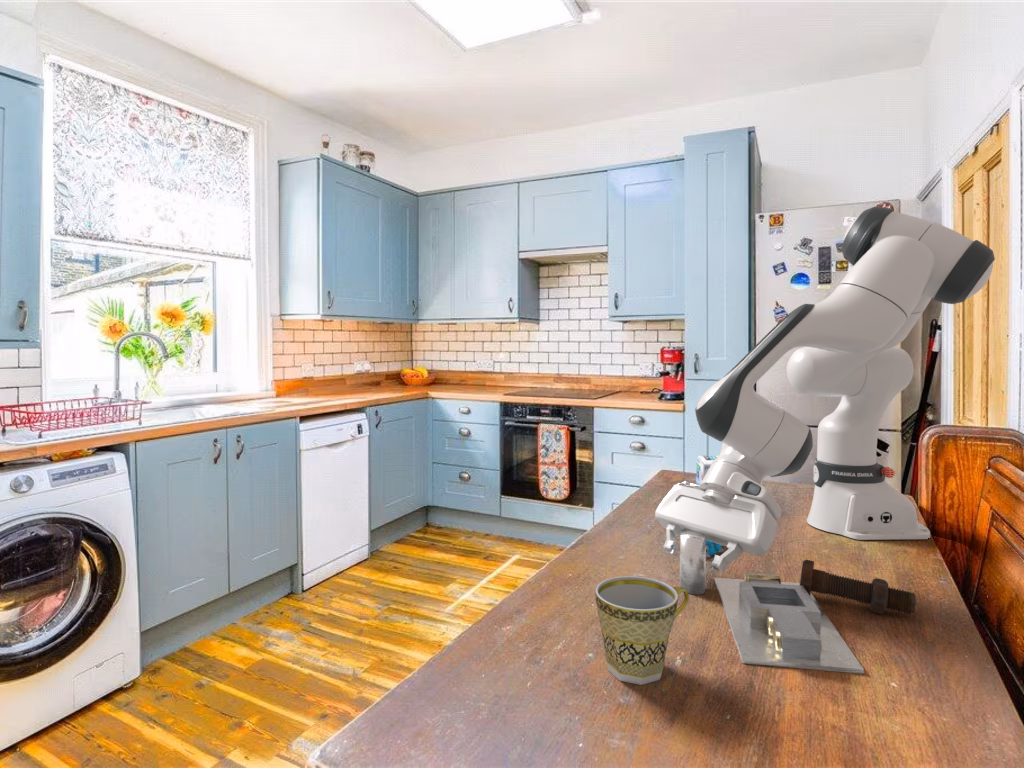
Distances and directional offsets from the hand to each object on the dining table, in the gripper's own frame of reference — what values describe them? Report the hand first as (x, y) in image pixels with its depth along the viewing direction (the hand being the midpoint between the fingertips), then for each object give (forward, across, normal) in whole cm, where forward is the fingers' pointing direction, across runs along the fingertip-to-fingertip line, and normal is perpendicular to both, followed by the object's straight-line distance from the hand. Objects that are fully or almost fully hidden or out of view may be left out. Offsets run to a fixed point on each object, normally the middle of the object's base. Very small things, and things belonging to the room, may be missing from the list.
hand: (691, 560), depth 98 cm
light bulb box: (-30, -29, +37) cm, 56 cm away
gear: (-9, -11, +16) cm, 21 cm away
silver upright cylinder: (+3, 0, +4) cm, 5 cm away
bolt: (-6, +19, +14) cm, 24 cm away
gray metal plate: (+3, +14, +4) cm, 15 cm away
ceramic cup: (+20, +11, -13) cm, 26 cm away
